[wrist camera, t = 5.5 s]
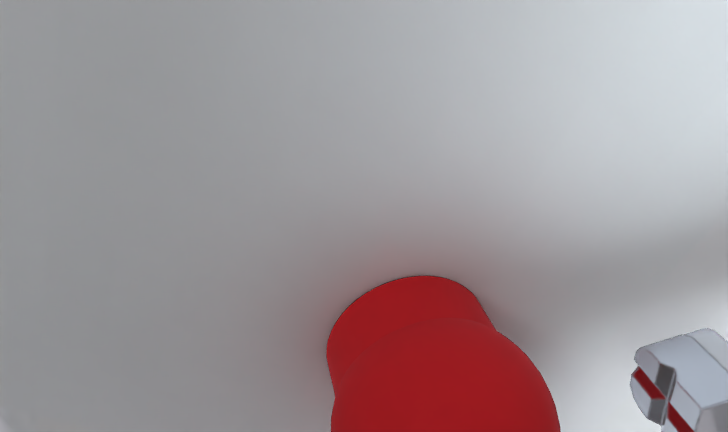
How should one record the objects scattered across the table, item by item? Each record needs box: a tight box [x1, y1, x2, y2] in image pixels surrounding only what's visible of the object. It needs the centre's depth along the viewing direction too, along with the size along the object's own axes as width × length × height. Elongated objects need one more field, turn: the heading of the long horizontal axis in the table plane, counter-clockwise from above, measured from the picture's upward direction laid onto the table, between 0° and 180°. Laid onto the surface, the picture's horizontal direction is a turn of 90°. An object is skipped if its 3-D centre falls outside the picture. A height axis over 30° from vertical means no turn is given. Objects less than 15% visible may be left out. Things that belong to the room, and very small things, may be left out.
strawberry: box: [327, 276, 560, 432], centre depth 11 cm, size 4×4×5 cm
